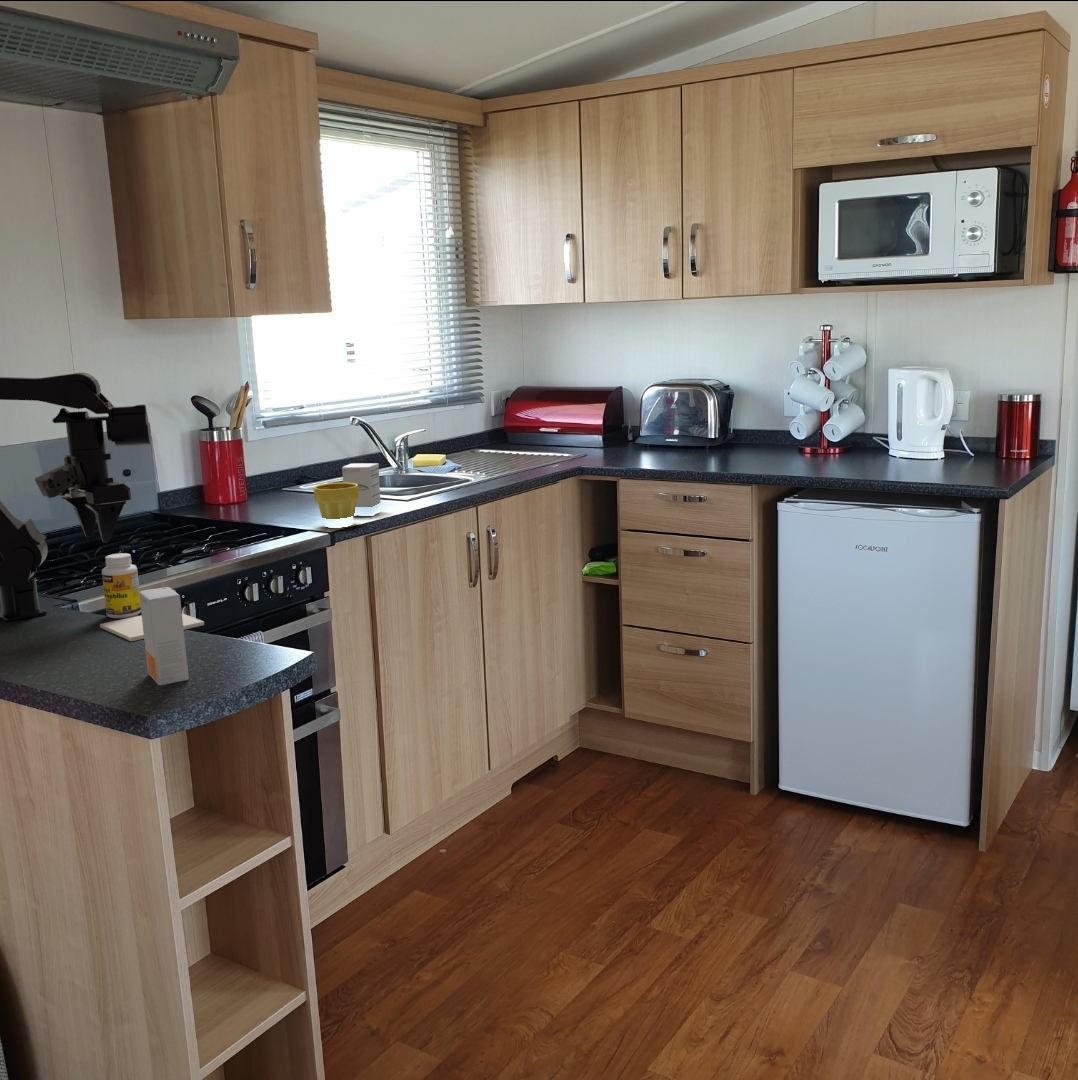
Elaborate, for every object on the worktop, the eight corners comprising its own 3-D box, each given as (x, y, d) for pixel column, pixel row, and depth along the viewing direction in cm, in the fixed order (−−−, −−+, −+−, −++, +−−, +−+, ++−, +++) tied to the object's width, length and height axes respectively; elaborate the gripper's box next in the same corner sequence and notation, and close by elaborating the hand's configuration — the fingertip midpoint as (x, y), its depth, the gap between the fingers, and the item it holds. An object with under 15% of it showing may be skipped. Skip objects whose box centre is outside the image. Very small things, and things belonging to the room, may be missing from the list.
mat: (100, 627, 177) (100, 624, 177) (171, 612, 185) (171, 609, 185) (131, 641, 169) (130, 637, 169) (204, 625, 177) (203, 621, 177)
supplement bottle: (100, 619, 183) (93, 559, 181) (117, 610, 188) (111, 552, 186) (131, 619, 182) (124, 558, 180) (148, 610, 187) (141, 551, 185)
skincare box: (147, 675, 152) (137, 590, 149) (178, 669, 154) (170, 585, 151) (157, 686, 146) (148, 599, 144) (190, 680, 149) (181, 594, 146)
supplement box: (344, 517, 273) (340, 466, 271) (354, 512, 280) (351, 462, 278) (372, 517, 272) (369, 466, 269) (382, 512, 279) (379, 462, 277)
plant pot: (347, 531, 255) (344, 489, 253) (308, 529, 258) (305, 488, 256) (368, 522, 264) (365, 482, 262) (330, 521, 268) (327, 481, 266)
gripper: (18, 449, 187) (30, 540, 190) (57, 457, 173) (68, 554, 176) (85, 443, 194) (95, 530, 197) (127, 449, 180) (137, 543, 183)
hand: (97, 539), depth 188 cm, fingers open, 7 cm apart
